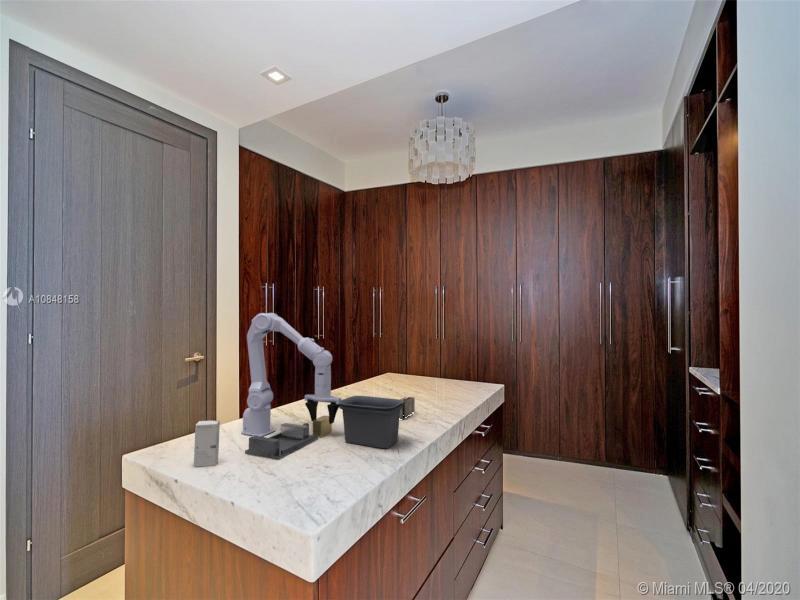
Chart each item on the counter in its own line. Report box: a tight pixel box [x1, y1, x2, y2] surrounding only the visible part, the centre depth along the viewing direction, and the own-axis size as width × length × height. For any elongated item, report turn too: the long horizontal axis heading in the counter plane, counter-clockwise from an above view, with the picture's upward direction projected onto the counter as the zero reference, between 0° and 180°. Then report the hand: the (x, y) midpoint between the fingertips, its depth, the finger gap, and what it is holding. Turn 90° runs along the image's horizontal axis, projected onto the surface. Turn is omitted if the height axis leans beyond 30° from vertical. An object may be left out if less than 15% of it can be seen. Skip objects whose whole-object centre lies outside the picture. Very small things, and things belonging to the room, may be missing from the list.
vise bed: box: [244, 431, 319, 461], centre depth 134 cm, size 13×21×5 cm, turn 157°
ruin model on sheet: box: [399, 396, 416, 420], centre depth 171 cm, size 11×3×10 cm, turn 151°
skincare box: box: [193, 419, 221, 467], centre depth 119 cm, size 6×4×12 cm
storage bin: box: [338, 395, 404, 449], centre depth 139 cm, size 21×16×14 cm
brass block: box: [312, 415, 333, 439], centre depth 146 cm, size 4×7×6 cm, turn 157°
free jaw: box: [280, 422, 310, 440], centre depth 142 cm, size 10×8×4 cm
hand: (322, 422), depth 146 cm, fingers open, 7 cm apart
